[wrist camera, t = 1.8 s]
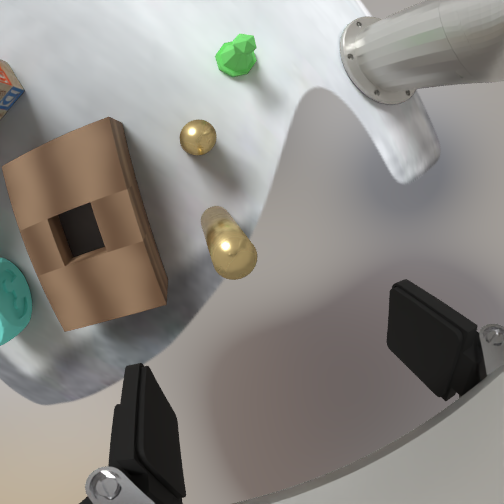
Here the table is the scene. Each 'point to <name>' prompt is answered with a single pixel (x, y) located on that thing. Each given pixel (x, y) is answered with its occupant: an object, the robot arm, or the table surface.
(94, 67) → the table surface
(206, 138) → the short pin
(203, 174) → the table surface
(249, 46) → the game piece
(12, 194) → the bridge board
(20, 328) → the decorative dice
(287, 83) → the table surface
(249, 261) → the tall pin
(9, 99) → the stack of blocks
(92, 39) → the table surface
